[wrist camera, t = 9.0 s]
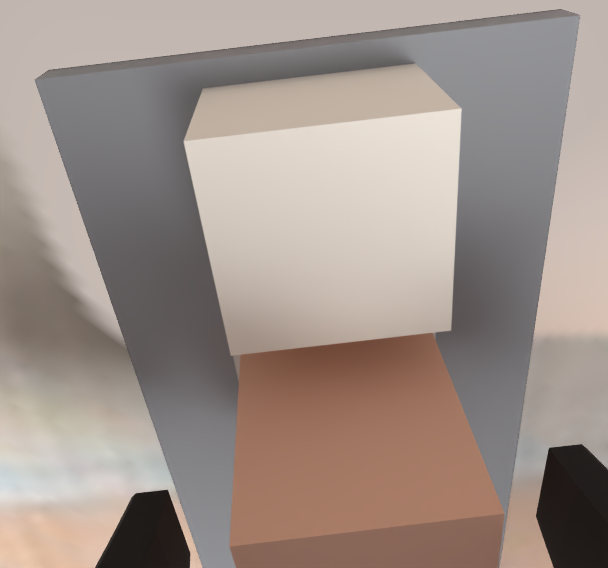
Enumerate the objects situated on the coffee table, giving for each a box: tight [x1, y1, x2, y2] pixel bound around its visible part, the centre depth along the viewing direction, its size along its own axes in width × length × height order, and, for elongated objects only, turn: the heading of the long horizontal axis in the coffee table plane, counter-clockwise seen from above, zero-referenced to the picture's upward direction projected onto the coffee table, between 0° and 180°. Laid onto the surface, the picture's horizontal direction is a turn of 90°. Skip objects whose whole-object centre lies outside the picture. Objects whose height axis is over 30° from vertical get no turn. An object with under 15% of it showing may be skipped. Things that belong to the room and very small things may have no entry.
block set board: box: [35, 9, 580, 568], centre depth 16 cm, size 10×25×4 cm, turn 6°
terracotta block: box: [229, 333, 505, 568], centre depth 12 cm, size 4×4×6 cm
